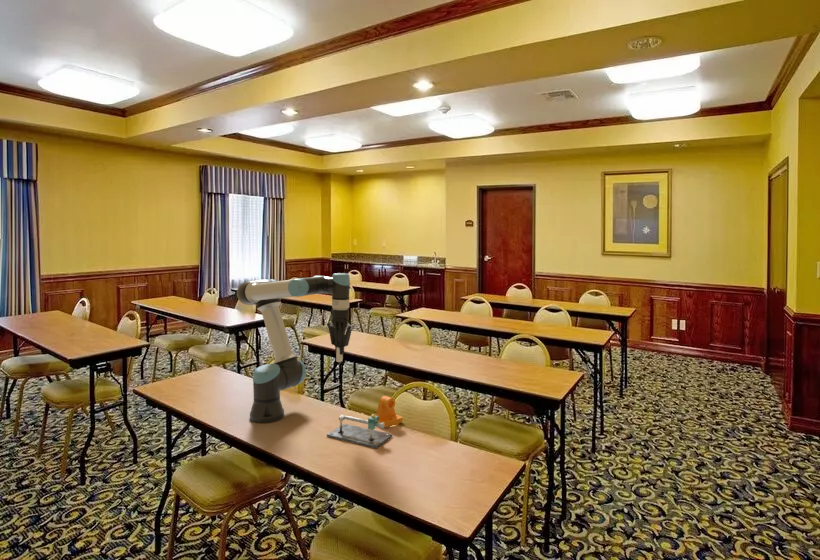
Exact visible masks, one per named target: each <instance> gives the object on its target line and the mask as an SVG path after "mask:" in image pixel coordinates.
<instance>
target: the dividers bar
mask: <svg viewBox="0 0 820 560" xmlns="http://www.w3.org/2000/svg"><path fill="white" fill-rule="evenodd" d="M344 420H347V421H351V422H355V423H360V424H364V425H368V419H364V418H360V417H355V416H351V415H347V414H340V416H338V421H339V427H340V433H342V425H343V421H344ZM375 427H379V428H380V429H384V428H385V427H384V423H383V422H382V423H379V422H375Z"/></svg>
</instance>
